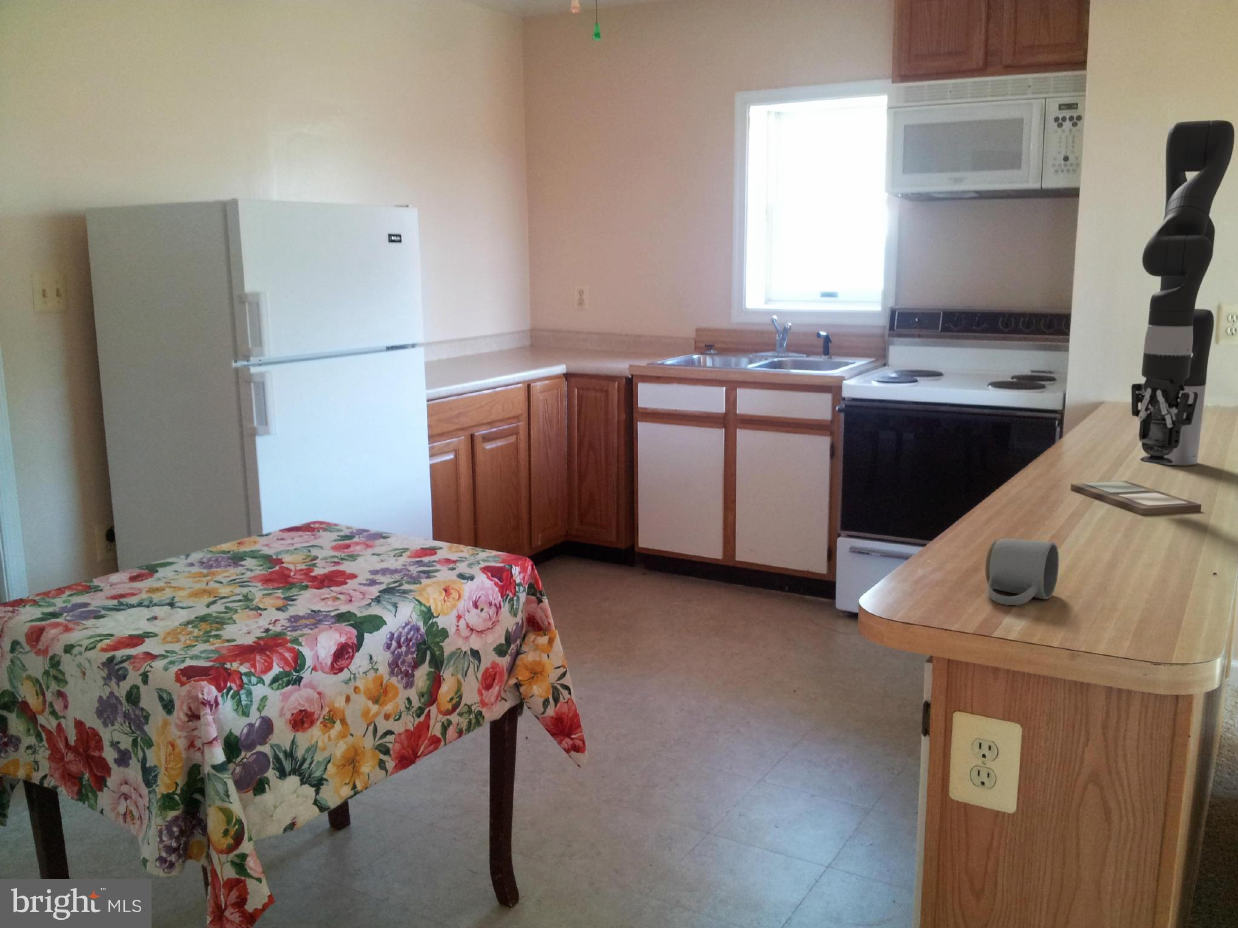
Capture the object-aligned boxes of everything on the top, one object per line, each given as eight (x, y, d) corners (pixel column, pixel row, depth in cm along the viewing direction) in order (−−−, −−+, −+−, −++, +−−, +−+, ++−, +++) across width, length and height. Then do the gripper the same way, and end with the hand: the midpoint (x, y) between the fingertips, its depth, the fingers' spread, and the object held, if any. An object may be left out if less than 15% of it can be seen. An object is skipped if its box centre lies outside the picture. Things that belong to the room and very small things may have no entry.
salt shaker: (1179, 464, 181) (1186, 397, 179) (1143, 463, 183) (1150, 396, 180) (1168, 458, 187) (1175, 393, 185) (1134, 457, 188) (1140, 392, 186)
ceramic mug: (997, 580, 146) (1000, 528, 144) (1058, 590, 141) (1062, 537, 140) (973, 601, 138) (976, 546, 136) (1036, 613, 133) (1041, 557, 131)
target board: (1070, 489, 200) (1071, 482, 199) (1124, 486, 202) (1125, 479, 202) (1141, 515, 181) (1142, 507, 180) (1200, 511, 183) (1201, 503, 183)
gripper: (1217, 354, 175) (1206, 451, 178) (1157, 347, 189) (1148, 437, 192) (1178, 355, 173) (1168, 453, 177) (1121, 348, 187) (1112, 438, 190)
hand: (1158, 444), depth 184 cm, fingers closed on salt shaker, 6 cm apart
